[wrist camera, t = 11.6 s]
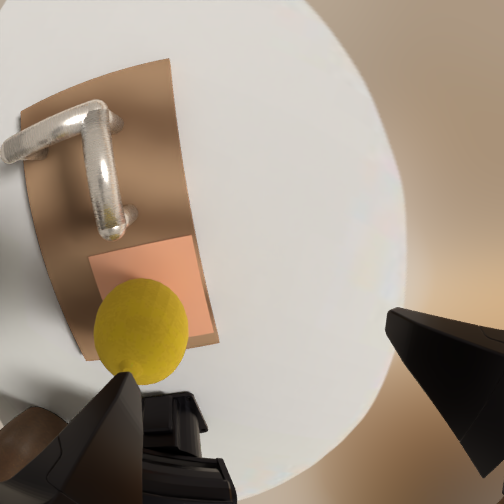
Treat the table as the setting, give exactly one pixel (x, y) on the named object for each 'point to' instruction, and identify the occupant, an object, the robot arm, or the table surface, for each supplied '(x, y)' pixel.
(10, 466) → the plant pot
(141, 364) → the lemon
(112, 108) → the walnut board
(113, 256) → the terracotta tile
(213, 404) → the table surface
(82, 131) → the bent wire
